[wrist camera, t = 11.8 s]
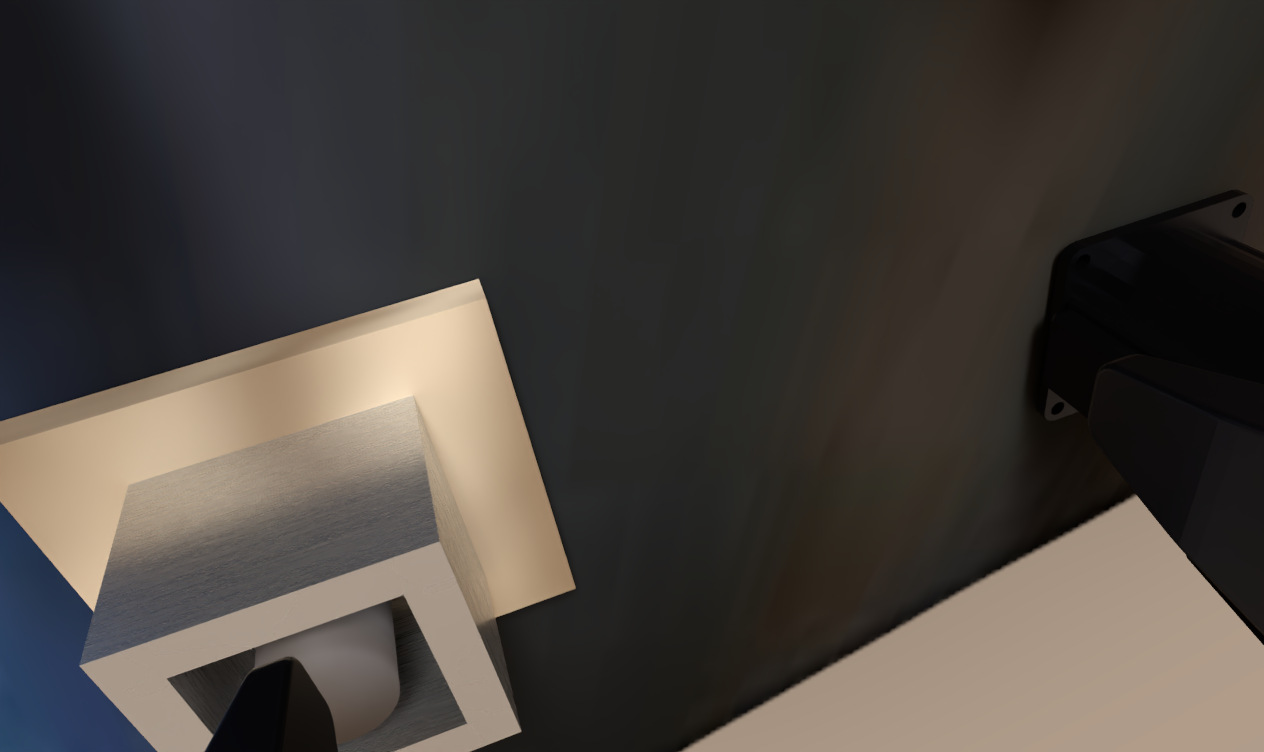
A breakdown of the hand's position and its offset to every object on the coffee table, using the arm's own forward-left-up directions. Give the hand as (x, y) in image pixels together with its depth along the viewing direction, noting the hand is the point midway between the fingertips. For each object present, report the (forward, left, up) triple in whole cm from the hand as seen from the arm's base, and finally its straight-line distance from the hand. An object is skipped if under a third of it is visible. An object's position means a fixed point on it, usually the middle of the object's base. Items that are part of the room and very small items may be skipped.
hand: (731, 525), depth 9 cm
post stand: (+7, +8, -12) cm, 16 cm away
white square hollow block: (+7, +8, -11) cm, 15 cm away
